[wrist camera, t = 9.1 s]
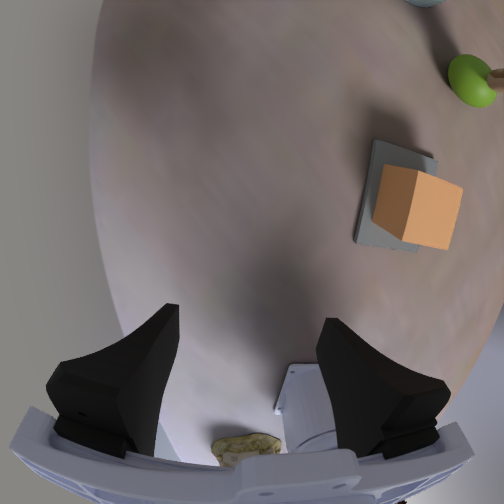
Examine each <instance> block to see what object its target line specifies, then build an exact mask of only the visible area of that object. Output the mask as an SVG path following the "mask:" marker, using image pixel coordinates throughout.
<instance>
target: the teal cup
mask: <svg viewBox="0 0 504 504" xmlns="http://www.w3.org/2000/svg"><path fill="white" fill-rule="evenodd" d="M405 1H407V2H409V3H411V4H413V5H416V6H418V7H428V8H429V7H432V6H434V5H437V4H439V3H442V2H444V1H445V0H405Z"/></svg>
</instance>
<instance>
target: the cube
mask: <svg viewBox="0 0 504 504" xmlns="http://www.w3.org/2000/svg"><path fill="white" fill-rule="evenodd" d="M462 193H463V188H461V187H458V186H456V185H454V184H451V183H449V182H447V181H444V180H442V179H439V178H437V177H434V176H432V175H429V174H427V173H424V172H421V171H419V170H414V169H409V168H403V167H398V166H392V165H387V164H384V166H383V172H382V177H381V182H380V187H379V192H378V197H377V201H376V206H375V210H374V214H373V218H372V222H373V223H375V224H376V225H378V226H379V227H381V228H383V229H384V230H386V231H387V232H389V233H390V234H392V235H393V236H395V237H396V238H398V239H399V240H401V241H404V242H409V243H414V244H420V245H425V246H430V247H435V248H439V249H444V250H448V247H449V244H450V240H451V237H452V233H453V230H454V226H455V222H456V219H457V215H458V211H459V206H460V202H461V197H462Z"/></svg>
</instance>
